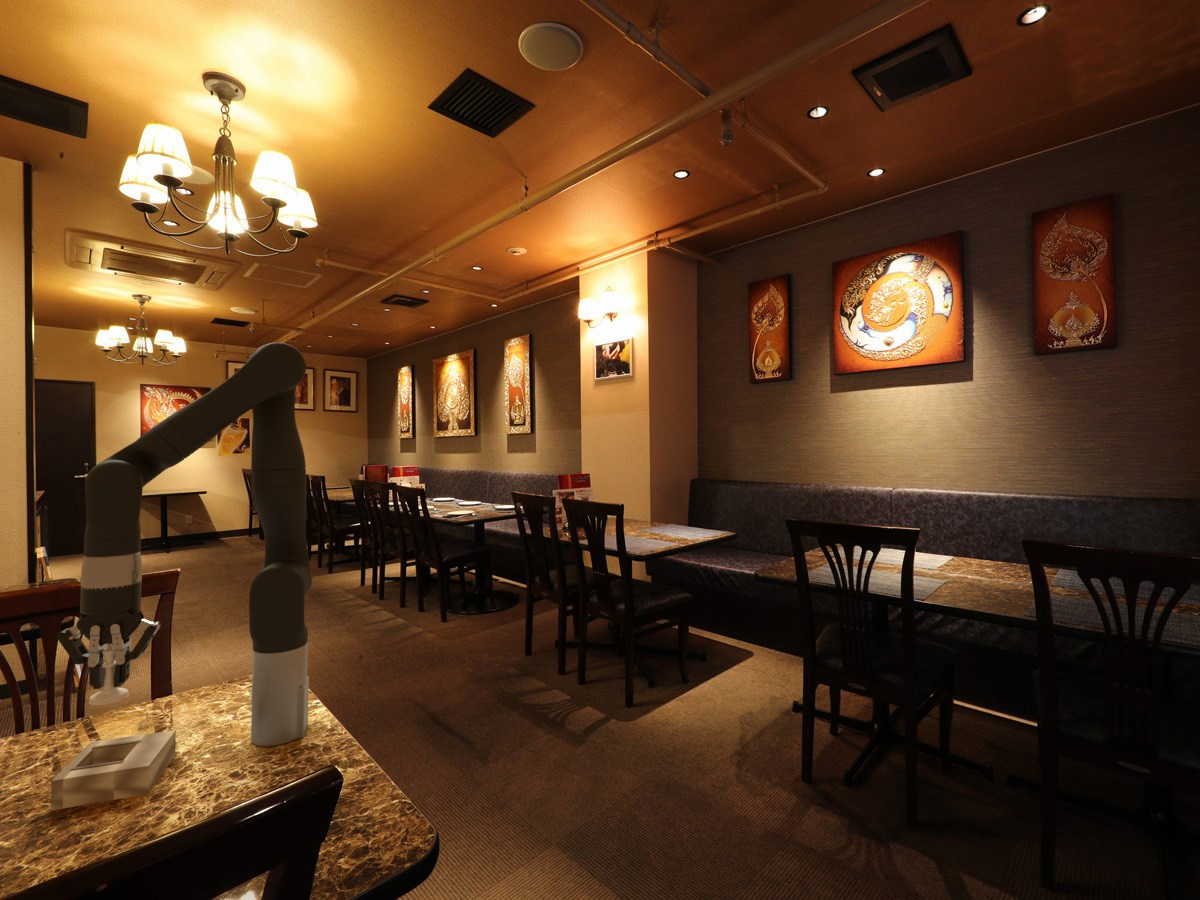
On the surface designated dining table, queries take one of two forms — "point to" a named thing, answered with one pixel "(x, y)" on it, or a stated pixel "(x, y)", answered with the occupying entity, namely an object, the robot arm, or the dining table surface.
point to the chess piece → (108, 682)
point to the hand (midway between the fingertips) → (109, 685)
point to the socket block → (113, 770)
